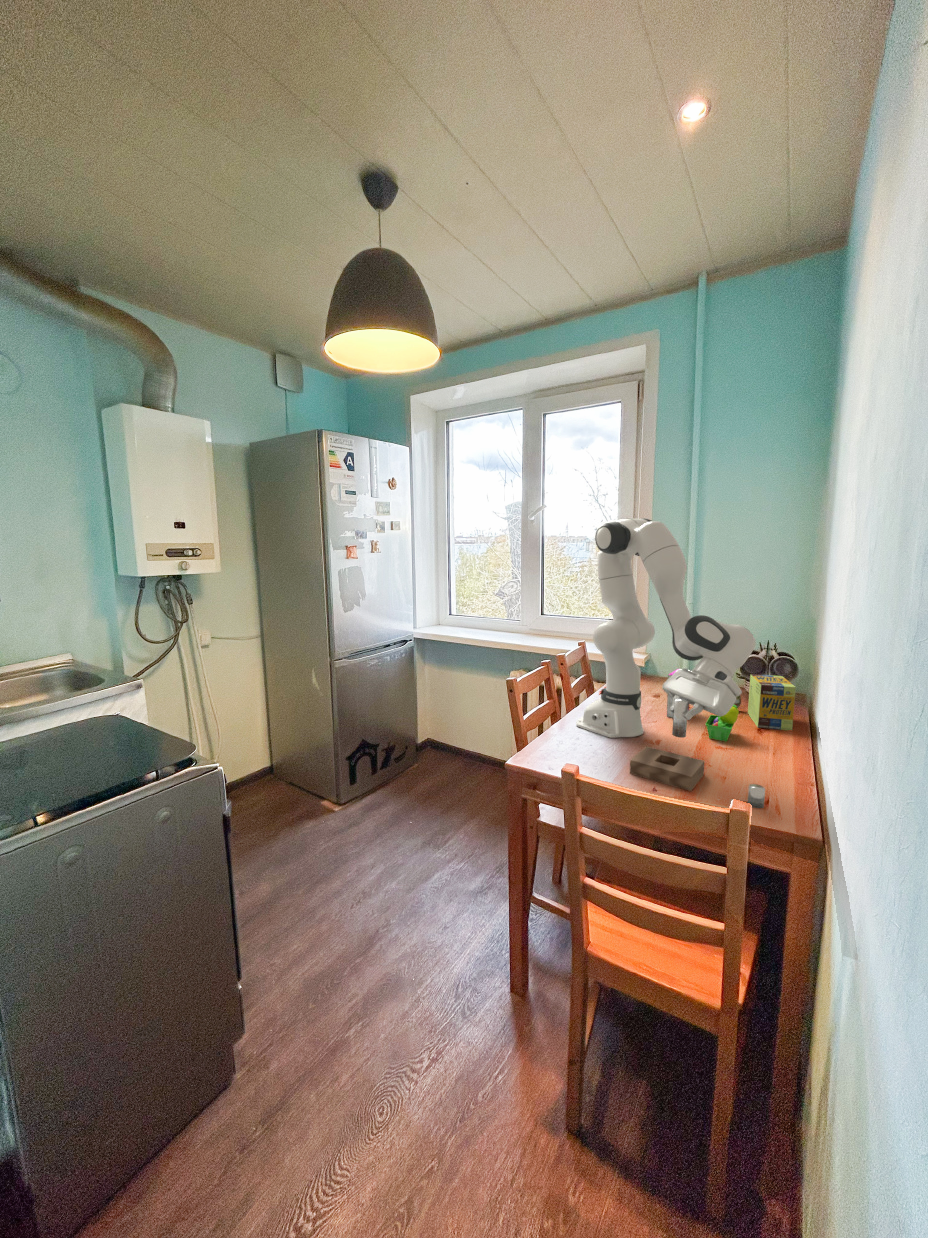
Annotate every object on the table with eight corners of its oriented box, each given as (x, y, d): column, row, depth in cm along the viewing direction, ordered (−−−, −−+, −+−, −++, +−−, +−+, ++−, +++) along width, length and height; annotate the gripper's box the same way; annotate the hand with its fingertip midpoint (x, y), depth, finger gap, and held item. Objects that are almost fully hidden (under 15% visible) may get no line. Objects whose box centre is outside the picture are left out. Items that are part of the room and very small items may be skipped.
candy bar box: (675, 709, 186) (677, 668, 184) (689, 712, 183) (691, 670, 180) (665, 717, 178) (667, 674, 175) (679, 720, 174) (681, 676, 172)
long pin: (670, 735, 130) (673, 700, 128) (674, 731, 132) (677, 697, 131) (683, 738, 128) (686, 702, 126) (687, 734, 130) (690, 699, 129)
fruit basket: (709, 728, 166) (711, 696, 164) (739, 733, 161) (741, 701, 159) (704, 739, 157) (705, 705, 155) (734, 745, 152) (737, 710, 150)
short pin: (746, 805, 116) (747, 788, 115) (749, 799, 119) (750, 782, 118) (762, 810, 114) (763, 792, 113) (765, 804, 116) (766, 787, 116)
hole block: (629, 773, 134) (630, 759, 133) (645, 759, 142) (646, 746, 142) (690, 791, 123) (691, 776, 123) (703, 774, 132) (704, 760, 132)
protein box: (757, 728, 165) (760, 684, 163) (747, 713, 180) (749, 673, 177) (793, 731, 162) (796, 687, 160) (779, 716, 176) (782, 675, 174)
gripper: (676, 660, 139) (646, 695, 138) (735, 679, 120) (702, 721, 118) (687, 673, 141) (658, 709, 140) (747, 694, 122) (714, 735, 121)
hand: (678, 714), depth 129 cm, fingers closed on long pin, 3 cm apart
